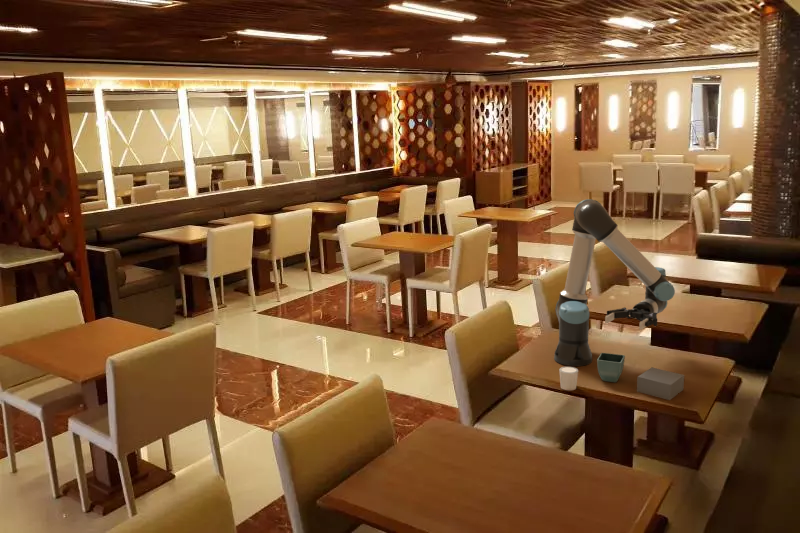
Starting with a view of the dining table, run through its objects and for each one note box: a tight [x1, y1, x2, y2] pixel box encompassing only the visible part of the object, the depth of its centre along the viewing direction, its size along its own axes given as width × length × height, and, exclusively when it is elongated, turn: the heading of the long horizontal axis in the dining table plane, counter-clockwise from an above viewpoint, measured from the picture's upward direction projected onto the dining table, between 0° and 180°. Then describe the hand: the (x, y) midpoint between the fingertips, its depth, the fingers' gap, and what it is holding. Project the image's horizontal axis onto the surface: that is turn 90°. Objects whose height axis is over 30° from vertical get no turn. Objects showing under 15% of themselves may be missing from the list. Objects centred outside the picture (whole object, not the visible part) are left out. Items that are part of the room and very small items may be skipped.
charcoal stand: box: [636, 366, 685, 401], centre depth 242 cm, size 12×12×6 cm
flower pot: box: [596, 352, 626, 383], centre depth 253 cm, size 9×9×9 cm
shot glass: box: [558, 366, 579, 391], centre depth 247 cm, size 7×7×7 cm
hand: (622, 323), depth 256 cm, fingers open, 13 cm apart
